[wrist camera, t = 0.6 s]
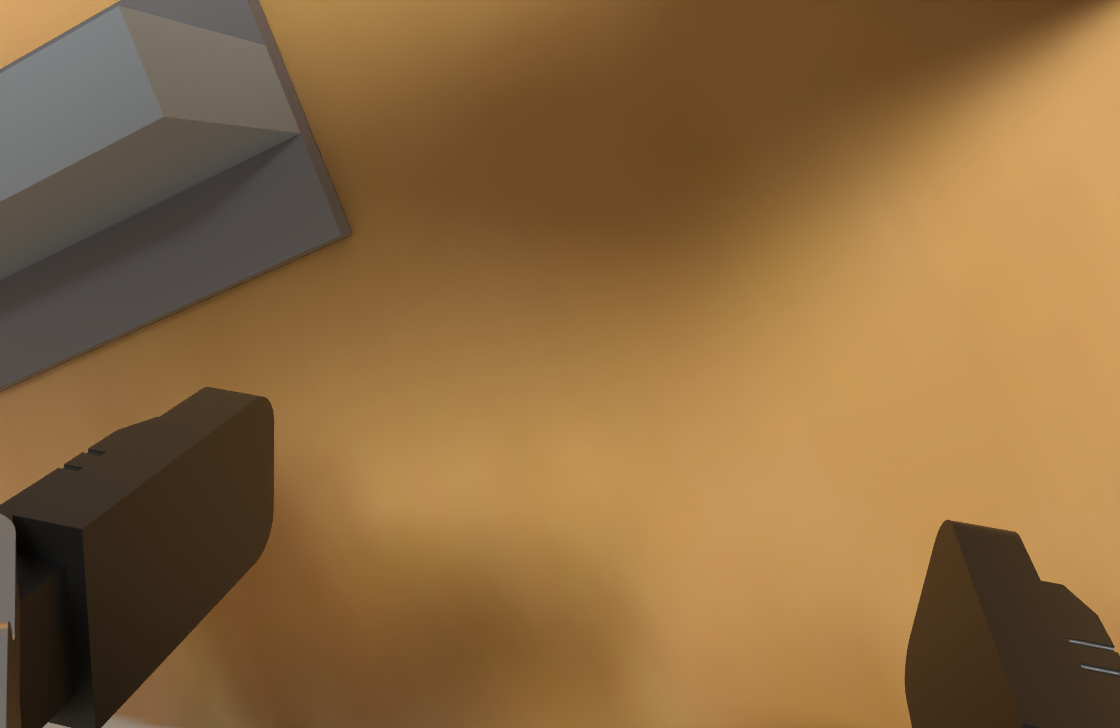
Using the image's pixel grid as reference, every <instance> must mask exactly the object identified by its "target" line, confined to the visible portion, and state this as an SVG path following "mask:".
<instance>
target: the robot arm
mask: <svg viewBox="0 0 1120 728" xmlns="http://www.w3.org/2000/svg"><path fill="white" fill-rule="evenodd" d="M273 500H274V415H273V409H272V406H271V403H270V402H269V400H268V399H267V398H265V397H261V396H255V395H250V394H244V393H238V392H233V391H227V390H222V389H216V388H210V387H206V388H203V389H201V390H200V391H198V392H197V393H195V394H194V395H192V396H191V397H189V398H188V399H186V400H184V401H183V402H181V403H180V404H178V405H177V406H175V407H174V408H172V409H171V410H169V411H168V412H166V413H165V414H163V415H162V416H160V417H156V418H153V419H150V420H147V421H144V422H141V423H138V424H135V425H132V426H129V427H126V428H122V429H119V430H117V431H115V432H114V433H112V434H111V435H109V436H107V437H106V438H104V439H103V440H101V441H100V442H98V443H97V444H95V445H93V446H92V447H90V448H89V449H88V453H83V452H82V453H81V454H79V455H78V456H76V457H75V458H73V459H72V460H70V461H68V462H67V463H65V464H64V468H63V469H61V468H57V469H56V470H54V471H53V472H51V473H50V474H48V475H47V476H45V477H43V478H42V479H40V480H39V481H37V482H36V483H34V484H32V485H31V486H29V487H28V488H26V489H25V490H23V491H22V492H20V493H18V494H17V495H15V496H14V497H12V498H11V499H9V500H7V501H6V502H4V503H3V504H1V505H0V728H42V727H43V726H44V725H46V724H47V722H50V723H54V724H58V725H63V726H67V727H71V728H101V727H102V726H103V725H104V724H105V723H106V722H107V721H108V720H109V719H110V718H111V717H112V715H113V714H114V713H115V712H116V711H117V710H118V709H119V708H120V707H121V706H122V705H123V704H124V703H125V702H126V701H127V699H128V698H129V697H130V696H131V695H132V694H133V693H134V692H135V691H136V690H137V689H138V688H139V687H140V686H141V684H142V683H143V682H144V681H145V680H146V679H147V678H148V677H149V676H150V675H151V674H152V673H153V672H154V671H155V670H156V668H157V667H158V666H159V665H160V664H161V663H162V662H163V661H164V660H165V659H166V658H167V657H168V656H169V655H170V653H171V652H172V651H173V650H174V649H175V648H176V647H177V646H178V645H179V644H180V643H181V642H182V641H183V640H184V639H185V637H186V636H187V635H188V634H189V633H190V632H191V631H192V630H193V629H194V628H195V627H196V626H197V625H198V624H199V622H200V621H201V620H202V619H203V618H204V617H205V616H206V615H207V614H208V613H209V612H210V611H211V610H212V609H213V608H214V606H215V605H216V604H217V603H218V602H219V601H220V600H221V599H222V598H223V597H224V596H225V595H226V594H227V593H228V592H229V590H230V589H231V588H232V587H233V586H234V585H235V584H236V583H237V582H238V581H239V580H240V579H241V578H242V577H243V575H244V574H245V573H246V572H247V571H248V570H249V569H250V568H251V567H252V566H253V565H254V564H255V563H256V561H257V560H258V559H259V557H260V556H261V554H262V552H263V550H264V548H265V546H266V543H267V541H268V538H269V534H270V531H271V526H272V521H273ZM905 693H906V699H907V704H908V709H909V714H910V719H911V724H912V728H1120V656H1119V654H1118V653H1117V652H1114V645H1113V643H1112V641H1111V639H1110V637H1109V635H1108V634H1107V632H1106V630H1105V628H1104V626H1103V624H1102V623H1101V621H1100V619H1099V617H1098V615H1097V614H1096V613H1094V612H1093V611H1092V610H1091V609H1090V608H1089V607H1088V606H1086V605H1085V604H1084V603H1083V602H1082V601H1081V600H1080V599H1078V598H1077V597H1076V596H1075V595H1074V594H1073V593H1072V592H1070V591H1069V590H1068V589H1067V588H1066V587H1065V586H1064V585H1061V584H1056V583H1050V582H1045V581H1041V580H1040V578H1039V576H1038V574H1037V572H1036V570H1035V568H1034V566H1033V563H1032V561H1031V559H1030V557H1029V555H1028V553H1027V551H1026V549H1025V547H1024V544H1023V542H1022V540H1021V538H1020V536H1019V535H1018V534H1017V533H1016V532H1013V531H1007V530H1002V529H996V528H990V527H985V526H979V525H973V524H968V523H962V522H957V521H951V520H946V521H944V522H943V524H942V525H941V527H940V529H939V531H938V534H937V537H936V540H935V543H934V547H933V551H932V555H931V558H930V562H929V566H928V570H927V574H926V577H925V581H924V585H923V589H922V593H921V597H920V600H919V604H918V608H917V612H916V616H915V619H914V623H913V627H912V631H911V635H910V639H909V644H908V649H907V656H906V665H905Z"/></svg>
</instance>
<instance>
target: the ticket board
mask: <svg viewBox="0 0 1120 728" xmlns="http://www.w3.org/2000/svg"><path fill="white" fill-rule="evenodd" d="M350 235H352V232H351V229H350V227H349V224H348V222H347V219H346V217H345V214H344V212H343V209H342V207H341V204H340V202H339V199H338V197H337V194H336V192H335V189H334V187H333V184H332V182H331V179H330V177H329V174H328V172H327V169H326V167H325V164H324V162H323V159H322V157H321V154H320V152H319V149H318V147H317V144H316V142H315V139H314V137H313V134H312V132H311V129H310V127H309V124H308V122H307V119H306V117H305V114H304V112H303V109H302V107H301V104H300V102H299V99H298V97H297V94H296V92H295V89H294V87H293V84H292V82H291V79H290V77H289V74H288V72H287V69H286V67H285V64H284V62H283V59H282V57H281V54H280V52H279V49H278V47H277V44H276V42H275V39H274V37H273V34H272V32H271V29H270V27H269V24H268V22H267V19H266V17H265V15H264V12H263V10H262V7H261V5H260V2H259V0H120V1H119V2H117V3H115V4H113V5H112V6H110V7H108V8H106V9H105V10H103V11H101V12H99V13H98V14H96V15H94V16H92V17H91V18H89V19H87V20H85V21H84V22H82V23H80V24H79V25H77V26H75V27H73V28H72V29H70V30H68V31H66V32H65V33H63V34H61V35H59V36H58V37H56V38H54V39H52V40H51V41H49V42H47V43H45V44H44V45H42V46H40V47H38V48H37V49H35V50H33V51H31V52H30V53H28V54H26V55H24V56H23V57H21V58H19V59H17V60H16V61H14V62H12V63H10V64H9V65H7V66H5V67H3V68H2V69H0V391H2V390H4V389H6V388H8V387H11V386H13V385H15V384H17V383H20V382H22V381H24V380H26V379H29V378H31V377H33V376H35V375H37V374H40V373H42V372H44V371H46V370H49V369H51V368H53V367H55V366H58V365H60V364H62V363H64V362H67V361H69V360H71V359H73V358H76V357H78V356H80V355H82V354H85V353H87V352H89V351H91V350H94V349H96V348H98V347H100V346H103V345H105V344H107V343H109V342H112V341H114V340H116V339H118V338H121V337H123V336H125V335H127V334H130V333H132V332H134V331H136V330H139V329H141V328H143V327H145V326H147V325H150V324H152V323H154V322H156V321H159V320H161V319H163V318H165V317H168V316H170V315H172V314H174V313H177V312H179V311H181V310H183V309H186V308H188V307H190V306H192V305H195V304H197V303H199V302H201V301H204V300H206V299H208V298H210V297H213V296H215V295H217V294H219V293H222V292H224V291H226V290H228V289H231V288H233V287H235V286H237V285H240V284H242V283H244V282H246V281H248V280H251V279H253V278H255V277H257V276H260V275H262V274H264V273H266V272H269V271H271V270H273V269H275V268H278V267H280V266H282V265H284V264H287V263H289V262H291V261H293V260H296V259H298V258H300V257H302V256H305V255H307V254H309V253H311V252H314V251H316V250H318V249H320V248H323V247H325V246H327V245H329V244H332V243H334V242H336V241H338V240H341V239H343V238H345V237H347V236H350Z"/></svg>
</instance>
